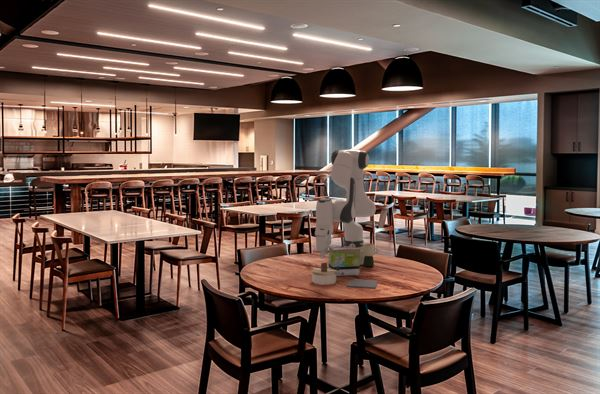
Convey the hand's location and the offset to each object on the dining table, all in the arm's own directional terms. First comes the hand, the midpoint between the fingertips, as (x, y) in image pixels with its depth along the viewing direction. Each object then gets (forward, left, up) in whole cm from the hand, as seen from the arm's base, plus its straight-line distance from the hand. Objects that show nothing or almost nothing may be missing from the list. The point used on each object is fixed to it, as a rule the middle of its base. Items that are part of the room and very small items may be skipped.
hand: (324, 256), depth 264 cm
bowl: (+1, 0, -14) cm, 14 cm away
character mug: (-42, +18, -14) cm, 48 cm away
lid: (0, 0, -9) cm, 9 cm away
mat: (+1, +20, -13) cm, 24 cm away
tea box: (-19, +7, -14) cm, 25 cm away
